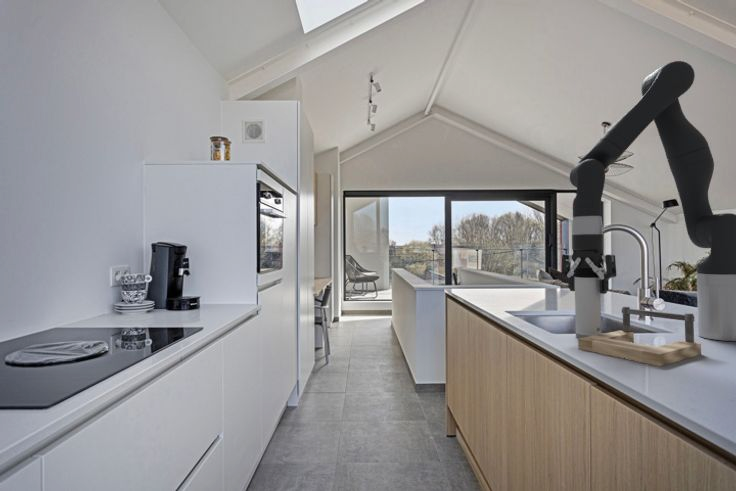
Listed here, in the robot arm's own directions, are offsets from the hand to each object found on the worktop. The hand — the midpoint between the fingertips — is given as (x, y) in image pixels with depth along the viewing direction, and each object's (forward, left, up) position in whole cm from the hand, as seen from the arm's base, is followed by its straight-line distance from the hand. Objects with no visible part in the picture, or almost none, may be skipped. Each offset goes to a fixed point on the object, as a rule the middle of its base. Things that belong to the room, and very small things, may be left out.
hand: (587, 292), depth 112 cm
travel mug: (0, 0, -13) cm, 13 cm away
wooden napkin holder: (+5, +15, -13) cm, 20 cm away
